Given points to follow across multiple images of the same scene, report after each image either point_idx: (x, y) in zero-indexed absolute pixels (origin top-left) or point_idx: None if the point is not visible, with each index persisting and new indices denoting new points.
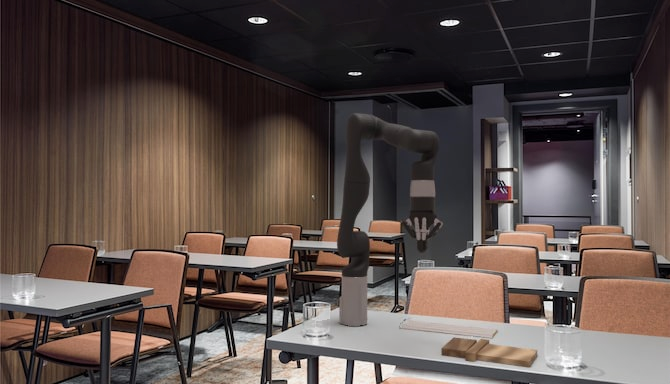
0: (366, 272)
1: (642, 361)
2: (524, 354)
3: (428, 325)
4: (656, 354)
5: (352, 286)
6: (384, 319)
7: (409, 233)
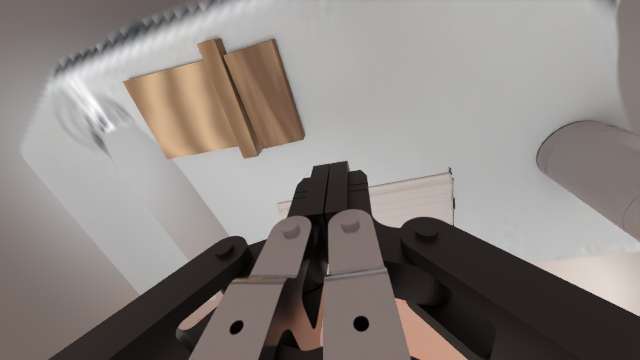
0: None
1: (86, 208)
2: (158, 119)
3: (400, 208)
4: (102, 243)
5: None
6: (511, 216)
7: (493, 250)
